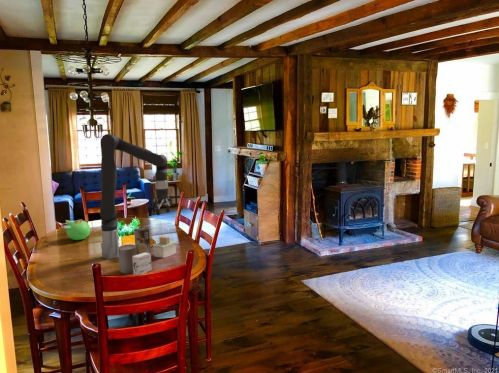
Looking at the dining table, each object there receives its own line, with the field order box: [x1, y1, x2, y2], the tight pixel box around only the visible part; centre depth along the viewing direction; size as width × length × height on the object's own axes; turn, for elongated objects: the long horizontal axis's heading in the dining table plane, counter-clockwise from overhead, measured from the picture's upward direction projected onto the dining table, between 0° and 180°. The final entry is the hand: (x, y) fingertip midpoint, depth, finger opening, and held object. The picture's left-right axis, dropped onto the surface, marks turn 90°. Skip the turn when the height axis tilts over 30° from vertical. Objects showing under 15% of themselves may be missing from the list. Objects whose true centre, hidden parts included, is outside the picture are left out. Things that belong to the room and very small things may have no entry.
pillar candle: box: [118, 244, 137, 275], centre depth 219 cm, size 10×10×15 cm
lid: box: [152, 235, 178, 249], centre depth 246 cm, size 12×9×6 cm
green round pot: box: [63, 218, 91, 241], centre depth 285 cm, size 18×17×15 cm
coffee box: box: [133, 227, 152, 255], centre depth 247 cm, size 9×6×16 cm
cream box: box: [153, 244, 177, 259], centre depth 246 cm, size 11×8×6 cm
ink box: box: [132, 252, 153, 276], centre depth 210 cm, size 9×5×12 cm, turn 141°
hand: (163, 213), depth 243 cm, fingers open, 8 cm apart
